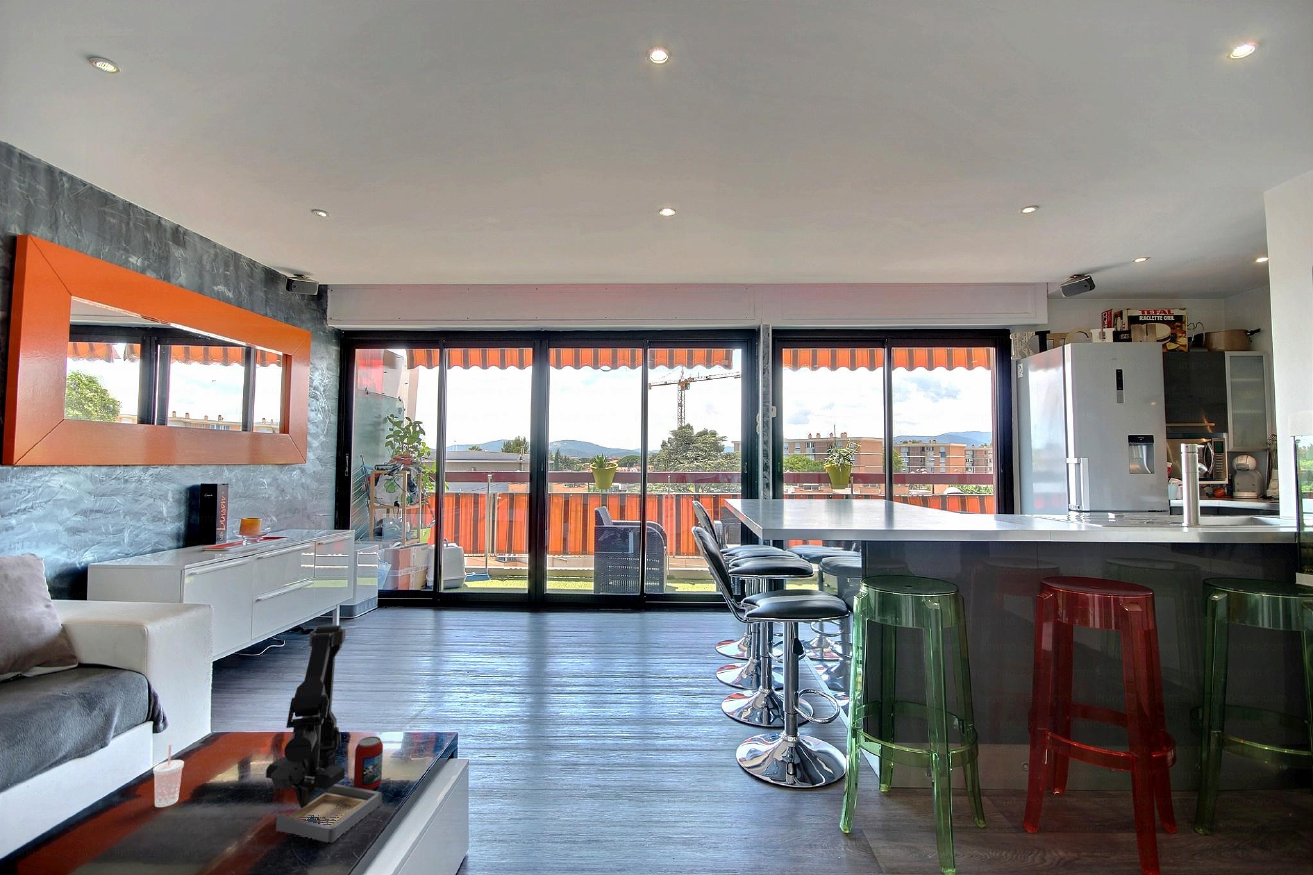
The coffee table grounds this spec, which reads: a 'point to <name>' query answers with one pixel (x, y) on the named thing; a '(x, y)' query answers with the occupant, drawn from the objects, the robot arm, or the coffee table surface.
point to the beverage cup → (167, 781)
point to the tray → (328, 807)
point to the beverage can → (368, 763)
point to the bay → (340, 827)
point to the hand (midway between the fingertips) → (303, 807)
